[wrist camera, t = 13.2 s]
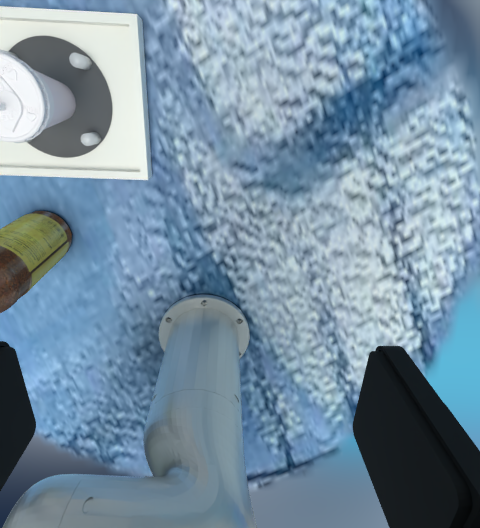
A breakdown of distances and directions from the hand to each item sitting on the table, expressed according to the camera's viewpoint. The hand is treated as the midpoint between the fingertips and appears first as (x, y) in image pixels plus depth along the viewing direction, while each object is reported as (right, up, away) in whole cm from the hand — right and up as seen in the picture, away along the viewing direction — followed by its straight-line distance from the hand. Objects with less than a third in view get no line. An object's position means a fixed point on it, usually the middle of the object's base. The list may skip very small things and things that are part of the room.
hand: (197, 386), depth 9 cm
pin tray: (-18, +20, +27) cm, 38 cm away
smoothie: (-18, +20, +26) cm, 37 cm away
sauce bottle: (-22, +7, +33) cm, 40 cm away
